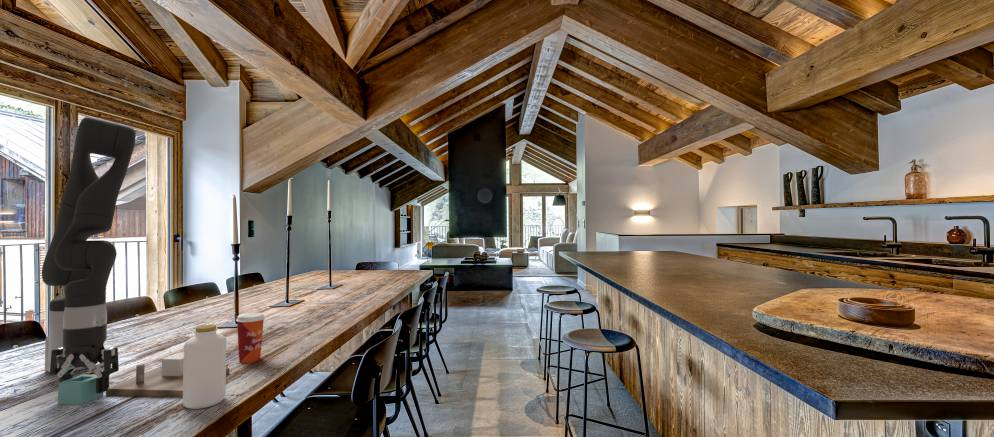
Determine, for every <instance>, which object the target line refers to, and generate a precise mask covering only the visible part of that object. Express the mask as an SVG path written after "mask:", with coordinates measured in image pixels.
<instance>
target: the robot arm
mask: <svg viewBox="0 0 994 437" xmlns="http://www.w3.org/2000/svg"><path fill="white" fill-rule="evenodd" d="M75 134H76V135H75V140H74V141H75V142H74V146H73V154H72V159H71V164H70V171H69V173H68V177H67V181H66V183H65V188H64V191H63V195H62V197H61V201H60V205H59V210H58V214H57V220H56V226H55V228H54V233H53V236H52V238H51V242H50V243H49V246H48V248H47V252H46V255H45V257H44V260H43V264H42V267H41V280H42V282H43V283H44V284H45V285H46V286H50V287H58V286H59V287H60V286H61V287H64V286H65V288H64V294H63V295H61V296H58V297H55V298H53V299H52V300H51V301H50V302H49V307H48V308H49V310H48V311H49V316H48V317H49V318H48V319H49V320H48V321H49V322H48V323H49V324H48V325H49V326H48V336H46V337H45V339H44V340H45V342H44V344H45V345H44V371H45V372H48V373H49V374H50V375H52V376H53V375H56V376H57V378H58V379H59V380H58V383H60V382H62V381H65V380H68V379H71V378H74V374H73V373H74V372H77V371H81V370H85V369H88V370H89V371H90V372H93V373H94V375H96V376H97V377H98V378H96V393H102V392H103V393H104V392H105V393H106V391H107V389H108V388H109V387H110V375H112V374H114V373H117V372H118V371H119V370H120V368H119V367H120V366H119V348H118V347H117V346H114V347H110V348H105V342H106V341H107V337H108V335H107V334H108V332H107V331H108V328H107V326H108V310H107V303H106V302H107V284H108V282H109V277H110V274H111V271H112V268H113V267H114V265H115V262H116V258H117V254H118V253H117V248H116V246H115V245H114V244H113V243H112V242H111V241H109V240H96V239H95V240H94V239H93V240H88V239H89V238H90V237H93V236H94V235H99V234H104V233H107V232H109V231H110V230H111V229H112V227H113V222H114V216H115V210H116V204H117V201H118V198H119V194H120V190H121V188H122V185H123V183H124V181H125V177H126V175H127V172H128V168H129V165H130V161H131V159H132V155H133V153H134V149H135V145H136V139H137V134H136V130H135V129H134V127H132V126H129V125H126V124H123V123H118V122H115V121H110V120H105V119H103V118H98V117H94V116H85V117H83V118H82V119H81V121H80V122H79V124H78V128H77V131H76V133H75ZM91 154H93V155H98V156H103V157H108V158H109V157H110V158H113V159H114V160H113V162H112V164H111V166H110V168H108V170H107V171H105V172H104V173H103V174H102V175H101V176H98V174H97V172H96V171H95V168H94V166H93V163H92V160H91Z"/></svg>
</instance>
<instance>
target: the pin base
mask: <svg viewBox="0 0 994 437" xmlns="http://www.w3.org/2000/svg"><path fill="white" fill-rule="evenodd" d="M135 370H136V372H135V376H133V377H131V378H129V379H126V380H123V381H121V382H118V383H116V384H114V385H111V386H109V388H108V389H107V391H105V396H134V397H135V396H138V397H141V396H142V397H143V396H144V397H172V398H173V397H178V398H183V375H182V376H162V365H161V366H158V367H156V368H153V369H150V370H148V371H145V364H143V363H141V364H137V365H136V367H135ZM229 374H230V367H226V376H227V375H229Z"/></svg>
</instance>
